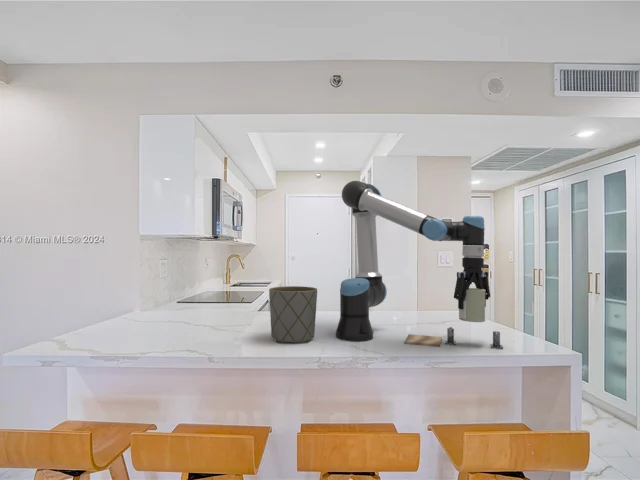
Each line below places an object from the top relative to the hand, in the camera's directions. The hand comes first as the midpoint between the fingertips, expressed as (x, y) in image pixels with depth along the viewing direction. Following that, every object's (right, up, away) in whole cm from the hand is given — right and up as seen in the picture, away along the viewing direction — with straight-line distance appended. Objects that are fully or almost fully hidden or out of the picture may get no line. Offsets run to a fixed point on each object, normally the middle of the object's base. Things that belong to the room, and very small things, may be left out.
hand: (471, 317), depth 145 cm
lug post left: (-7, -11, +2) cm, 13 cm away
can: (0, -1, 0) cm, 1 cm away
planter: (-68, -11, +8) cm, 69 cm away
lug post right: (+8, -11, -3) cm, 13 cm away
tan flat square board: (-17, -11, +6) cm, 20 cm away
